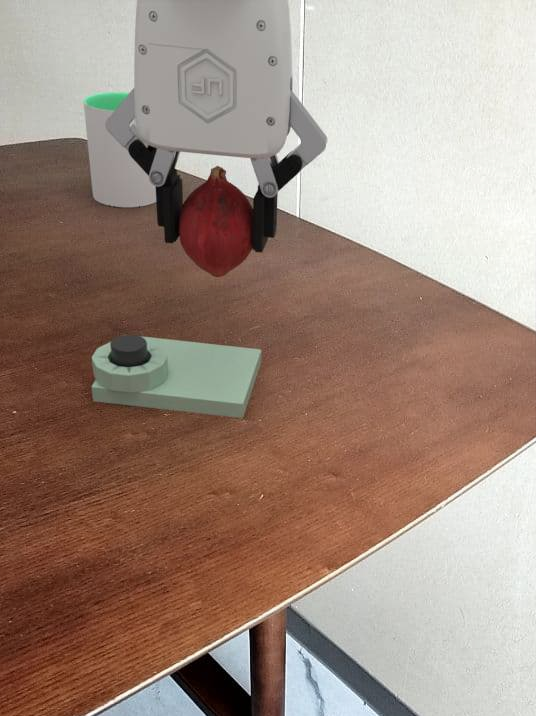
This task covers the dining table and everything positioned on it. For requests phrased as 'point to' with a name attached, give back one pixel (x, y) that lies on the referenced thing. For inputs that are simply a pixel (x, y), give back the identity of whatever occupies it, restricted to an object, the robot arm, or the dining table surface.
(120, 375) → the green dial panel
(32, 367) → the dining table surface
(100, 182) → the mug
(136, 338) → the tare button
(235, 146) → the robot arm
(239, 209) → the onion
